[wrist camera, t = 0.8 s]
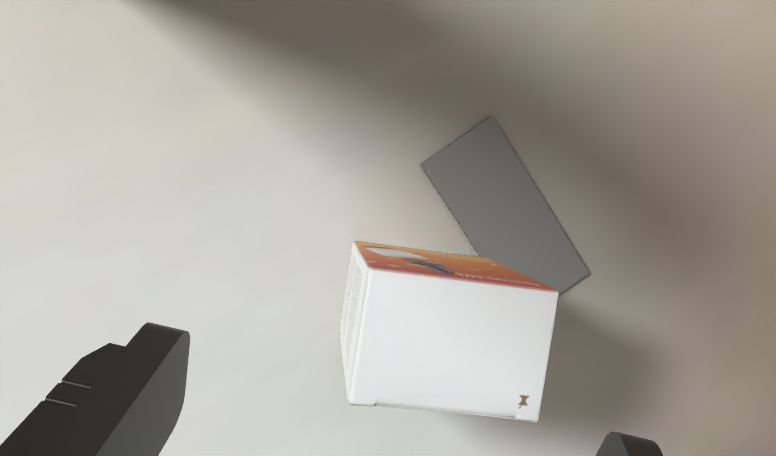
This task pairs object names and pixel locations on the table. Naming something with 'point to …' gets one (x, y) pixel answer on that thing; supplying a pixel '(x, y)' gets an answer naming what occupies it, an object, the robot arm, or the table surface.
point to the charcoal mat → (503, 207)
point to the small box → (444, 333)
